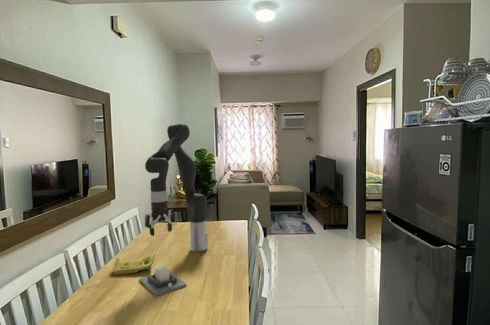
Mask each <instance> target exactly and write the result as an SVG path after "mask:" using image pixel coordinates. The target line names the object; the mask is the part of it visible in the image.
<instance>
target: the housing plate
mask: <svg viewBox="0 0 490 325" xmlns="http://www.w3.org/2000/svg"><path fill="white" fill-rule="evenodd" d="M169 275H170V280H167V281H164V282H160V283H159V282H157V281H156V274H155V271H153V274H151V275H148V276H145V277H141V278H139V279H138V281H139V282H140V283H141V284H142V285H143V286H144V287H145V288H146V289H147V290H148V291H150V293H151V294H152V295H153V296H155V297H159V296H161V295H162V296H163V295H164V294H168V293H170V292H173V291H177V290H179V289H182V288H185V287H187V283H186V282H184V280H181V278H179V277H178V276H176V274H173V273H172V272H171V271H169Z"/></svg>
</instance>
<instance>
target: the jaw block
mask: <svg viewBox="0 0 490 325" xmlns="http://www.w3.org/2000/svg"><path fill="white" fill-rule="evenodd" d="M154 272H155V274H156V281H157V282H159V283H160V282H164V281H167V280H170V275H169V272H170V268H168V267H167V266H166V265H164V264H161V265H159V266H155V271H154Z"/></svg>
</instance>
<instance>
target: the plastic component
mask: <svg viewBox="0 0 490 325" xmlns="http://www.w3.org/2000/svg"><path fill="white" fill-rule="evenodd" d="M155 259H156V253H154V254H153V255H151V256H149V255H148V256H145V257H143V258H141V259H135V260H129V261H128V260H126V261H121V260H120V259H119V257H116V258H115V261H114V263H113V266H112V270H113V273H114V274H115V275H125V274H134V273H135V274H136V273H138V272H139V271H142V270H145V271H147V270H148V271H149V270H150V269H152V266H153V265H154V263H155Z"/></svg>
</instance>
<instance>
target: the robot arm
mask: <svg viewBox="0 0 490 325" xmlns="http://www.w3.org/2000/svg"><path fill="white" fill-rule="evenodd" d="M166 132H167V137H168V139H169V140H167V141H166V142H164V143H163V144H162V145H161V146H160V148H159V149H158V150H157V152H155V153H153V154H152V155H151V156H150V157H148V159H147V160H146V161H145V164H144V165H145V166H144V168H145V170H146V172H148V173H149V174H158V176H157V177H153V178H151V179H150V184H149V185H150V209H151V213H150V214H148V213H147V214H145V215H144V226H145V227H146V228H147V229H149V235H150V236H152V237H154V236H155V228H154V227H155V226H156V224H157V223H160V222H164V221H166V223H167V232H169V233H170V232H171V233H172V230H173V223H175V222H176V215H175V214H176V213H175V210H174V209H172V208H170V209H169V204H168V192H167V176H168V172H169V168H170V166H169V165H170V163H169V161H170V160H171V158H173V156H174V157H175V160H176V163H177V168H178V171H179V175H180V179H181V182H182V186H183V191H184V196H185V202H186V205H187V207H188V208H189V209H192V210H193V211H194V213H193V214H191V215H190V217H189V238H190V239H189V240H190V244H189V246H190V251H191V252H194V253H199V252H204V251H206V250H208V249H209V246H208V244H209V243H208V232H207V226H206V225H207V224H206V221H207V220H206V219H207V218H206V217H207V215H208V214H207V213H208V212H207V211H208V200H207V197H206V196H205V195H204V194H202V193H201V194H200V193H197V191H196V188H195V180H196V176H197V169H196V166H195V162H194V160H193V158H192V157H191V156H190V155H189V154H188V153H187V152H186V151H185V150H184V149H183V147H182V145H183V144H184V143H185V142H186V141H187V140H188V139H189V137H190V128H189V126H188V125H187V124H186V123H177V124H172V125H169V126H168V127H167V131H166ZM168 215H170V218H169V216H168ZM150 220H151V221H150Z"/></svg>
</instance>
